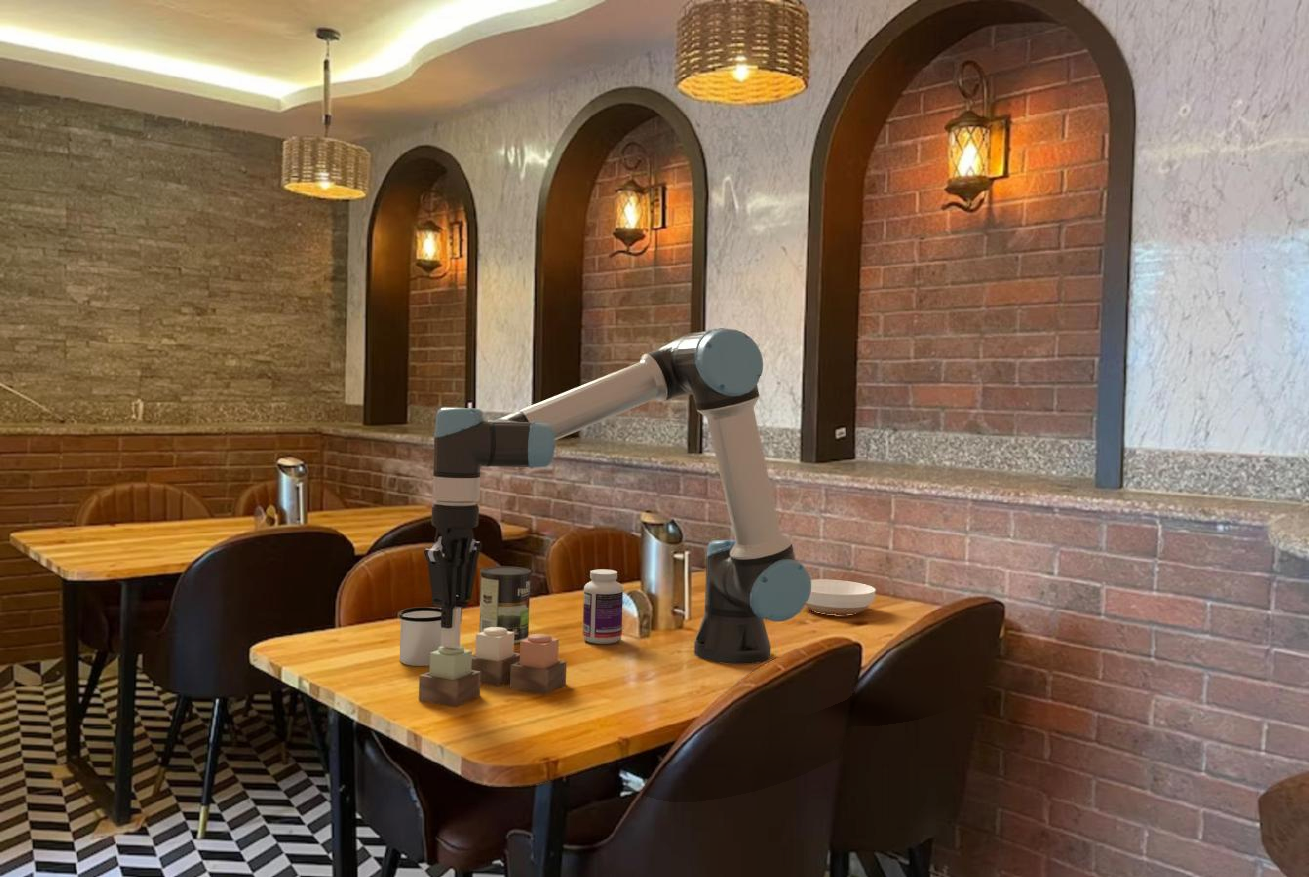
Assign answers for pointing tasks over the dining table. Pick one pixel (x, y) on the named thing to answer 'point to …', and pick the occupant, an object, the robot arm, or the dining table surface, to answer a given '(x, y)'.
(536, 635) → the cap terracotta
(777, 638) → the dining table surface
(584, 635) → the pill bottle
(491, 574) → the coffee can
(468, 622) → the dining table surface
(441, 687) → the brown square tray
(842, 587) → the bowl
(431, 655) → the cap sage
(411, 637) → the mug
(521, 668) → the collar brown
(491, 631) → the cap cream
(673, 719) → the dining table surface
